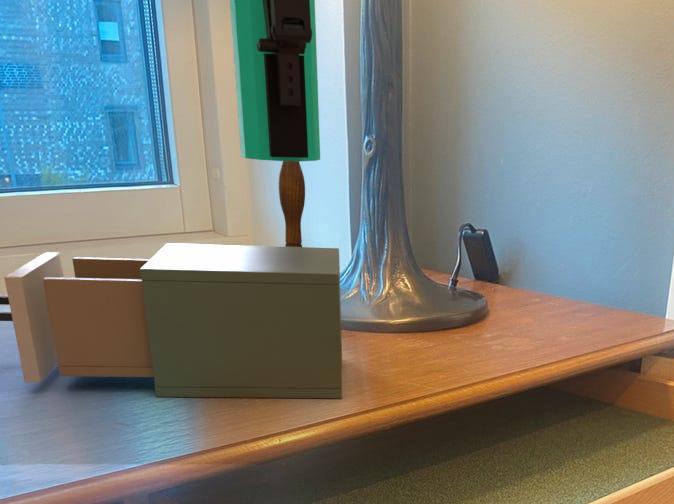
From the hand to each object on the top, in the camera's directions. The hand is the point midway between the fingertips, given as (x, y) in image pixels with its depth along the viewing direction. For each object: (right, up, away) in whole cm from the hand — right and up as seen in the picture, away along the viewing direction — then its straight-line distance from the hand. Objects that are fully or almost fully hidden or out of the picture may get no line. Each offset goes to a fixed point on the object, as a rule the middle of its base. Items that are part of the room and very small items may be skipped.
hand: (279, 152), depth 74 cm
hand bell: (-4, -4, +27) cm, 28 cm away
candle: (0, 0, 0) cm, 1 cm away
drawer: (-16, -14, +6) cm, 23 cm away
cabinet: (-4, -15, +8) cm, 18 cm away
